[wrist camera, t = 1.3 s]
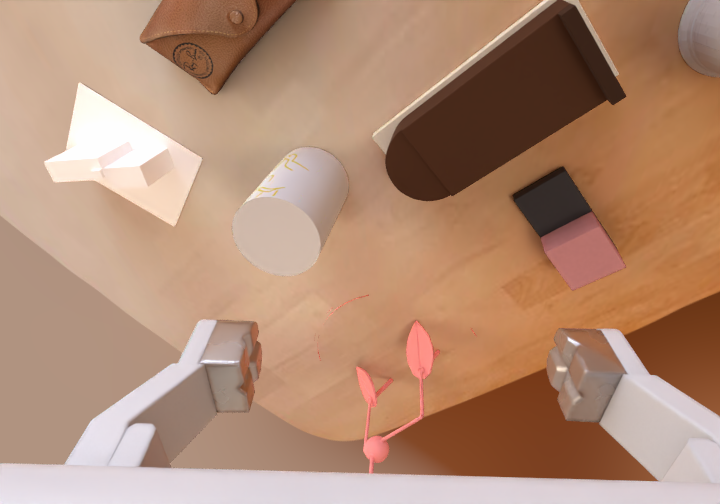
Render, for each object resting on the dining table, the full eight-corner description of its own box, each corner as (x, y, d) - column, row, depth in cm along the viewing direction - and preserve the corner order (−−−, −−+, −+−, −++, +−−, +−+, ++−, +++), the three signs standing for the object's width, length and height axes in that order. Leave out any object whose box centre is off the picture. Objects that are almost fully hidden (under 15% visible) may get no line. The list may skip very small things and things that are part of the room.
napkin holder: (63, 163, 54) (25, 183, 50) (77, 81, 48) (36, 94, 43) (175, 227, 57) (150, 252, 52) (203, 157, 50) (176, 177, 46)
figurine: (494, 325, 56) (530, 720, 27) (359, 405, 69) (285, 727, 40) (406, 246, 52) (337, 609, 23) (280, 347, 65) (138, 657, 36)
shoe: (565, -17, 36) (587, -12, 29) (614, 70, 38) (643, 92, 32) (373, 132, 45) (359, 160, 39) (423, 194, 48) (417, 229, 42)
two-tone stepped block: (512, 195, 46) (516, 214, 43) (563, 165, 43) (571, 183, 40) (565, 269, 49) (573, 292, 46) (615, 245, 47) (627, 268, 43)
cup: (308, 131, 46) (266, 178, 36) (364, 185, 48) (339, 243, 39) (263, 179, 50) (215, 234, 41) (316, 227, 53) (283, 290, 43)
